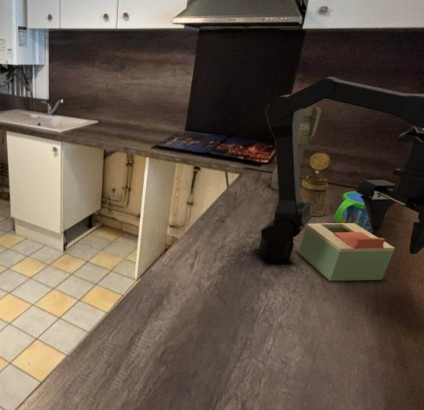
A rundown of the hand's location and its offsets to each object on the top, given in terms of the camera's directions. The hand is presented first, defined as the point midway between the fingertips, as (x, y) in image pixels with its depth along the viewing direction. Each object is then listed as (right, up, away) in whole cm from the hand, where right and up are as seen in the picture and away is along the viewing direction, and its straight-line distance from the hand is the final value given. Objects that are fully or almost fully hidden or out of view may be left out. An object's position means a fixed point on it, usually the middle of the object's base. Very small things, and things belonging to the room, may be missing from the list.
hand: (392, 241), depth 72 cm
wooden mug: (+12, +6, +47) cm, 49 cm away
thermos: (+14, +14, +64) cm, 67 cm away
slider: (0, -1, +9) cm, 9 cm away
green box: (-1, -7, +15) cm, 17 cm away
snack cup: (+17, 0, +32) cm, 36 cm away
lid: (-1, 0, +12) cm, 12 cm away
